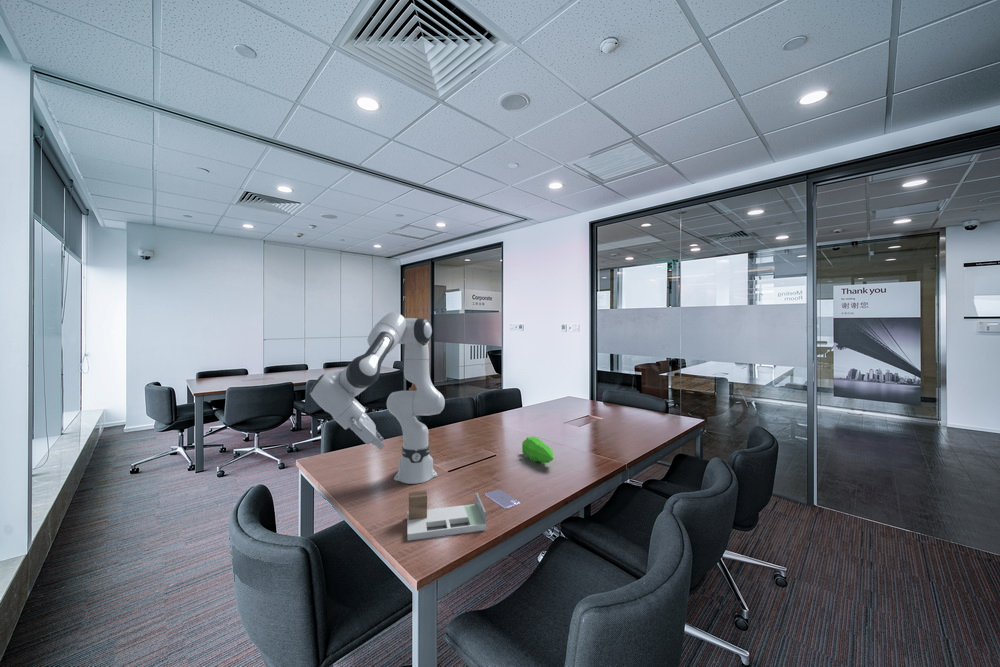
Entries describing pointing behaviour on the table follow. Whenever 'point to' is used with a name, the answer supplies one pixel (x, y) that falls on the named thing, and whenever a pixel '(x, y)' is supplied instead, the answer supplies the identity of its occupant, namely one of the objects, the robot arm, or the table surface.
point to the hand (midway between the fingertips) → (382, 444)
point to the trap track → (448, 521)
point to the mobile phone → (502, 498)
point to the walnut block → (417, 504)
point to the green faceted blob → (537, 450)
